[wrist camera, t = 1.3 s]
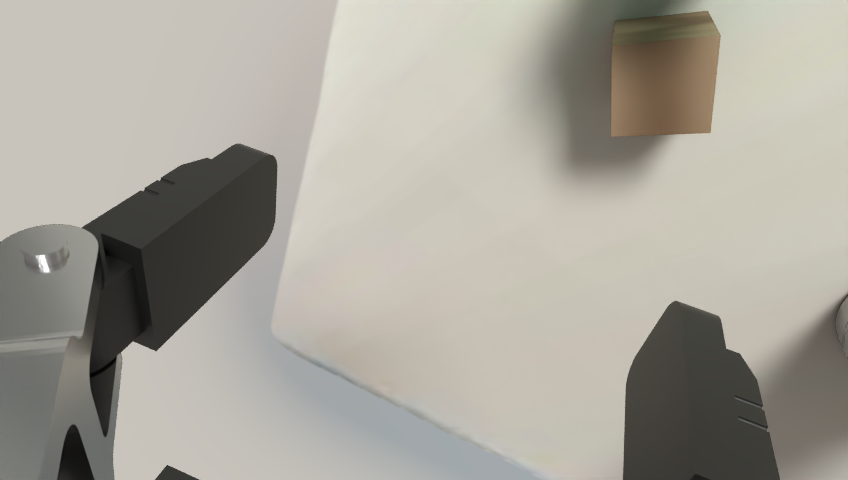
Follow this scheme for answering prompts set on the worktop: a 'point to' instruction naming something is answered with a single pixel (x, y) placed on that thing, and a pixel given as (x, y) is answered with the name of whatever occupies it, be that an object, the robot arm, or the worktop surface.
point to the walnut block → (664, 74)
